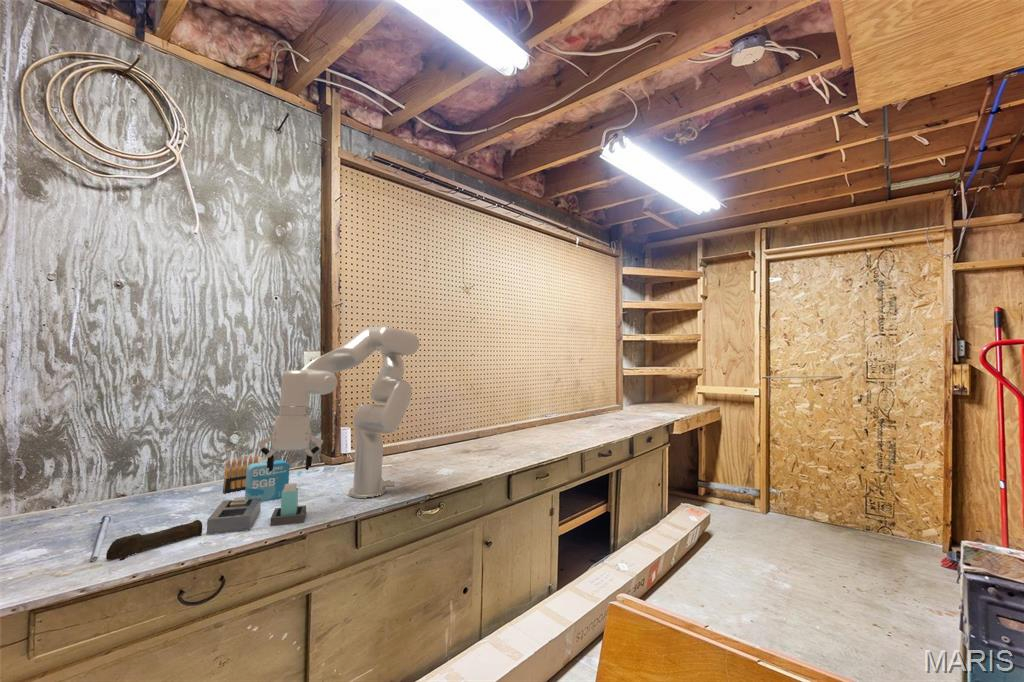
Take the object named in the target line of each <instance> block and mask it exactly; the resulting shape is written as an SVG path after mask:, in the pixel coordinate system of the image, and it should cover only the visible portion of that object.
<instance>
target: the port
mask: <svg viewBox="0 0 1024 682" xmlns="http://www.w3.org/2000/svg"><path fill="white" fill-rule="evenodd" d="M261 504H262V502H261V498H251V499H246V497H245V496H243V497H234V498H233V499H228V500H222V501H221V503H220V504H219V505H218V506H217V508H216V509H215V510H214V511H213V512H212V514H210V516H209V517H208V518H207V519H206V520H207V521H206V535H207V534H209V535H216V534H215V533H219V534H226V533H225V532H229V533H237V531H239V532H246V530H248V531H250V530H251V529H250V528H252V527H253V525H254V524H255V521H256V520H257V518H256V517H258V516H259V513H260V512H261ZM255 519H256V520H255Z"/></svg>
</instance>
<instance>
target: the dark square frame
mask: <svg viewBox="0 0 1024 682" xmlns="http://www.w3.org/2000/svg"><path fill="white" fill-rule="evenodd" d="M306 514H307V505H299V506H297V515H286V516H281V507H275V508H274V510H273V511H272V514H271V517H270V522H269V523H270V527H273V526H282V525H283V526H284V524H285V525H293V524H294V523H295V524H303V523H304V522H305V518H306Z"/></svg>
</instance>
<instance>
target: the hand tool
mask: <svg viewBox="0 0 1024 682" xmlns="http://www.w3.org/2000/svg"><path fill="white" fill-rule="evenodd" d="M202 534H203V522H202V521H201V520H200V519H195V520H193V521H192V522H188V523H185V524H183V523H182V524H180V525H175V526H172V527H170V528H166V529H163V530H159V531H155V532H151V533H146V534H141V533H138V532H137V533H134V534H131V535H127V536H122V537H120V538H117V539H115V540H114V541H112V543H111V544H110V546H109V547H108V549H107V551H106V556H105V560H108V561H109V560H110V561H111V560H116V558H117V559H122V558H125V556H126V557H129V556H128V555H130V556H133V555H132V554H134V555H136V554H135V553H138V552H139V553H140V552H141V551H144V550H146V549H150V548H155V547H157V546H161V545H164V544H168V543H172V542H176V541H178V540H183V539H186V538H190V537H194V536H196V535H197V536H199V535H200V536H201V535H202ZM139 553H138V554H139ZM121 557H122V558H121Z"/></svg>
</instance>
